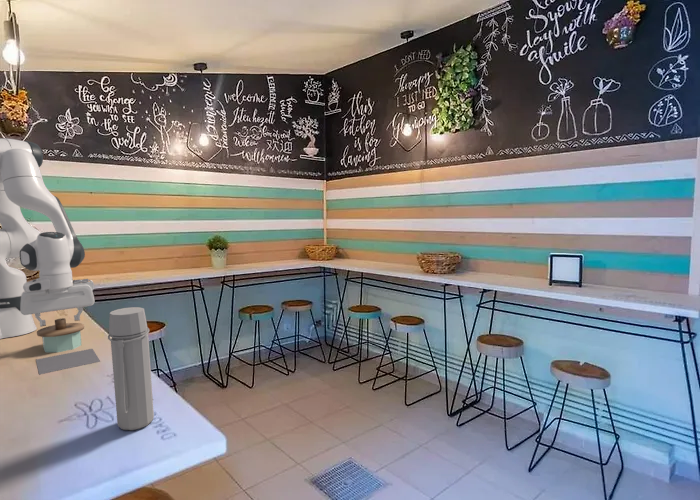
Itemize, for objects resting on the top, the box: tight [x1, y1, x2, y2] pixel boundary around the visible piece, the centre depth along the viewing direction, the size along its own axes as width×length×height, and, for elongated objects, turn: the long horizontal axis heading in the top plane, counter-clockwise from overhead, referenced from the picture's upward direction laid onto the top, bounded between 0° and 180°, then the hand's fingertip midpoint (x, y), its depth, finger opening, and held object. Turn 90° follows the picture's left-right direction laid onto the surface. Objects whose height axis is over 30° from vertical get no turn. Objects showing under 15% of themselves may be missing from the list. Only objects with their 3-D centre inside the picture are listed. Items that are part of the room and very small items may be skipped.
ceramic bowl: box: [42, 331, 82, 353], centre depth 143 cm, size 10×10×6 cm
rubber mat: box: [35, 348, 101, 375], centre depth 131 cm, size 15×15×1 cm
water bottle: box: [107, 306, 155, 431], centre depth 91 cm, size 9×8×25 cm
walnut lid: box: [36, 317, 85, 338], centre depth 142 cm, size 13×13×4 cm
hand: (60, 323), depth 142 cm, fingers open, 8 cm apart
